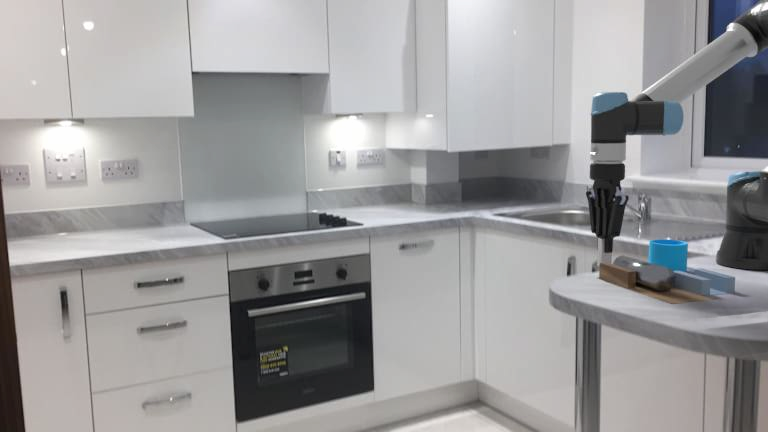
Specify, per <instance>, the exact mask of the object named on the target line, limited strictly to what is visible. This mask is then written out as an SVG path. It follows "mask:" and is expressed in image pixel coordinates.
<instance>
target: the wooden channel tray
mask: <svg viewBox="0 0 768 432" xmlns="http://www.w3.org/2000/svg"><path fill="white" fill-rule="evenodd" d="M598 271H599V273H598V276H599V277H597V279H598V280H601V281H604V282H606V283H610V284H612V285H615V286H618V287H620V288H621V287H622V288H624V289H626V290H630V291H632V292H636V293H638V294H641V295H644V296H647V297H649V298H653V299H656V300H659V301H661V302H665V303H667V304H670V305H676V304H686V303H695V302H703V301H704V302H706V301H715V300H716V299H715V298H712V297H709V296H704V295H699V294H696V293H693V292H690V291H687V290H683V289H680V288H677V287H674V286H673V288H672V289H671V290H669V291H667V292H660V291H657V290H654V289H651V288H648V287H645V286H642V285H639V284H636V283H635V282H636V271H633V270H630V269H627V268H624V267H620V266H617V265H614V264H613V263H611V264H610V263H607V262H605V263H600V267H599V269H598Z"/></svg>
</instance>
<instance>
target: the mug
mask: <svg viewBox="0 0 768 432" xmlns="http://www.w3.org/2000/svg"><path fill="white" fill-rule="evenodd" d="M688 249H689V243H688V242H686V241H684V240H677V239H664V238H663V239H652V240H649V242H648V262H649V263H653V264H656V265H660V266H663V267H667V268H670V269H672V270H673V271H682V272H686V273H688V272H687V271H688V270H687V269H688V253H689V252H688Z"/></svg>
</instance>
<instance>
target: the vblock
mask: <svg viewBox="0 0 768 432" xmlns="http://www.w3.org/2000/svg"><path fill="white" fill-rule="evenodd" d="M674 273H675V277H676V280H675V284H674V287H677V288H680V289H683V290H687V291H690V292H693V293H696V294H699V295H703V296H706V297H709V296H717V295H726V294H727V295H729V294H735V288H736V287H735V286H736V277H735V276H732V275H728V274H724V273H721V272H716V271H714V270H709V269H706V268H695V269H694V274H692V273H688V272H682V271H674Z"/></svg>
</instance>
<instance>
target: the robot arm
mask: <svg viewBox="0 0 768 432" xmlns="http://www.w3.org/2000/svg"><path fill="white" fill-rule="evenodd" d="M766 49H768V0H759V1H758V2H757V3H755V4H754V5H752V6H751V7H750V8H748V9H747V10H746V11H745V12H743V13H742V14H741V15H740V16H738V17H737V18H736V19H735V20H733V21H732V22H730V23H729V24H728V25H727V26H726V31H725V32H724V33H722V34H721V35H719V36H718V37H717V38H715V39H714V40H713V41H712V42H710V43H708V44H707V45H706V46H704V47H703V48H701V49H700V50H699V51H698V52H696V53H695V54H693V55H691V56H690V57H688V59H686V60H685V61H684V62H681V64H679V65H678V66H677V67H675V68H674V69H673V70H671V71H669V72H668V73H667V74H665V75H664V76H662V77H661V78H660V79H659V80H657V81H656V82H655V83H653V84H651V85H650V86H649V87H648V88H646V89H645V90H643V91H642V92H641V93H640V94H638V95H637V96H635V97H634V98H632V99H630V100H629V98H628V97H629V96H628V93H627V92H624V91H623V92H622V91H621V92H619V91H614V92H613V91H610V92H609V91H608V92H607V91H606V92H604V91H603V92H598V93H595V94H594V95H593V96H592V101H591V110H590V111H591V112H590V116H591V117H590V124H591V125H590V138H591V139H590V159H589V160H590V161H592V163H590V164H589V179H590V180H591V181H593V185H592V189H591V190H587V191H586V192H585V196H586V198H587V202H588V204H587V205H588V211H589V213H588V214H589V221H590V223H589V224H590V229H591V230H590V231H591V233H592V234H595V236H596V238H597V242H596V243H597V248H596V249H597V250H596V251H597V261H596V262H597V265H596V266H597V267H599V268H600V263H605V262H607V263H610V264H613V261H612V259H613V258H612V257H613V248H614V238H617V237H620V235H621V233H622V232H621V230H622V227H623V221H624V217H625V216H624V215H625V210H626V206H627V204H628V202H629V199H630V198H629V197H630V196H629V195H628V194H627V195H626V194H625V195H624V194H623V192H622V186H621V181H624V180H625V178H626V165H625V163H624V162H625V161H626V159H627V136H663V137H665V136H669V135H671V136H672V135H677V134H678V133H679V132H680V131H681V129H682V127H683V124H684V116H685V115H684V109H683V106H682V105H681V104H682V103H683V102H685V101H686V100H688V99H689V98H690V97H692V96H693V95H694V94H697V92H698V91H700V90H702V88H704V87H706V86H707V85H708V84H710V83H711V82H712V81H714V80H715V79H717V78H718V77H720V76H721V75H723V74H724V73H725V72H727V71H728V70H730V69H731V68H733V66H735V65H736V64H738V63H739V62H741V61H742V60H744V59H745V58H746V57H747V58H753V57H756V55H758V54H759V53H761V52H763V51H764V50H766ZM727 179H728V180H727V185H726V206H725V207H726V209H725V210H726V211H725V229H724V234H723V237H722V240H721V243H720V245H719V246H720V247H719V250H717V252H716V255H715V262H716V264H718V265H721V266H725V267H729V268H734V269H742V270H751V271H752V270H756V271H758V270H759V271H768V163H767V164H766V165H765V166H764V167H762V168H761V169H760V170H754V171H753V170H752V171H751V170H750V171H737V172H733V173H731V174H730V175H729V176H728V178H727Z"/></svg>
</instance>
